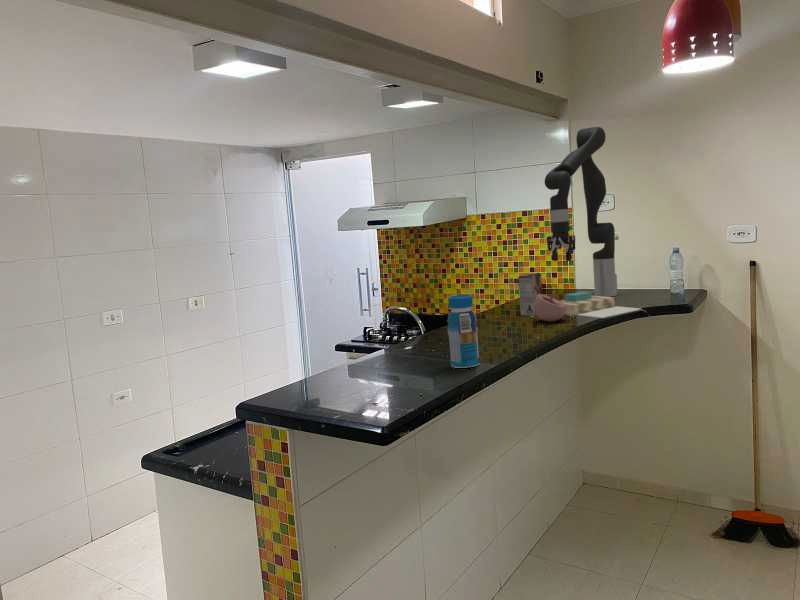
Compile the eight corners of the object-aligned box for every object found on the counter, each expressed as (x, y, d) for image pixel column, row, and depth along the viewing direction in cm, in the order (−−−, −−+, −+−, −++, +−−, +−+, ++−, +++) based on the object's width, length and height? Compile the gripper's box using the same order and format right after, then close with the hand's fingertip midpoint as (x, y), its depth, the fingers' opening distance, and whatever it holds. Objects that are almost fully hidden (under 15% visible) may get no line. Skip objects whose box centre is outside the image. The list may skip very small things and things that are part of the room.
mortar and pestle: (566, 323, 221) (564, 292, 220) (532, 324, 225) (531, 294, 224) (568, 318, 233) (566, 288, 231) (536, 319, 237) (534, 289, 235)
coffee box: (528, 311, 255) (526, 273, 253) (543, 311, 251) (541, 273, 249) (520, 315, 247) (517, 276, 245) (535, 315, 244) (532, 275, 242)
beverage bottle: (445, 369, 171) (439, 298, 169) (458, 361, 178) (452, 294, 176) (472, 370, 167) (467, 298, 164) (485, 363, 174) (480, 293, 172)
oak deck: (588, 304, 260) (587, 295, 259) (614, 307, 248) (614, 297, 247) (549, 312, 249) (549, 302, 248) (575, 315, 237) (575, 305, 236)
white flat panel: (616, 307, 247) (616, 306, 247) (641, 309, 236) (641, 308, 236) (577, 315, 236) (577, 314, 236) (602, 318, 226) (602, 317, 226)
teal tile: (580, 297, 254) (580, 291, 254) (591, 298, 249) (591, 292, 249) (564, 300, 250) (564, 294, 250) (575, 301, 245) (575, 295, 244)
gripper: (579, 219, 248) (581, 260, 250) (553, 220, 260) (555, 259, 262) (566, 220, 244) (568, 262, 246) (540, 222, 256) (543, 261, 259)
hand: (561, 260), depth 254 cm, fingers open, 7 cm apart
